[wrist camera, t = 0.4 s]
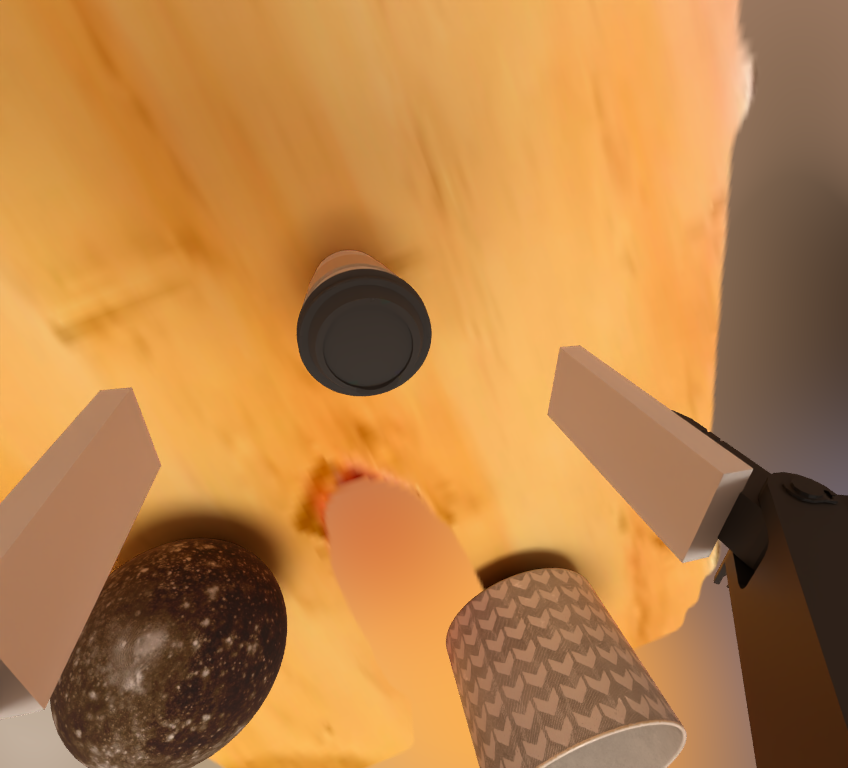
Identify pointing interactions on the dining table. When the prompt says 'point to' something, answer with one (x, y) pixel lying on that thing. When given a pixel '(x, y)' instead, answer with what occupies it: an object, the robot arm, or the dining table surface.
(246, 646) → the decorative sphere
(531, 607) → the planter
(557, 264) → the dining table surface
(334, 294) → the coffee cup
